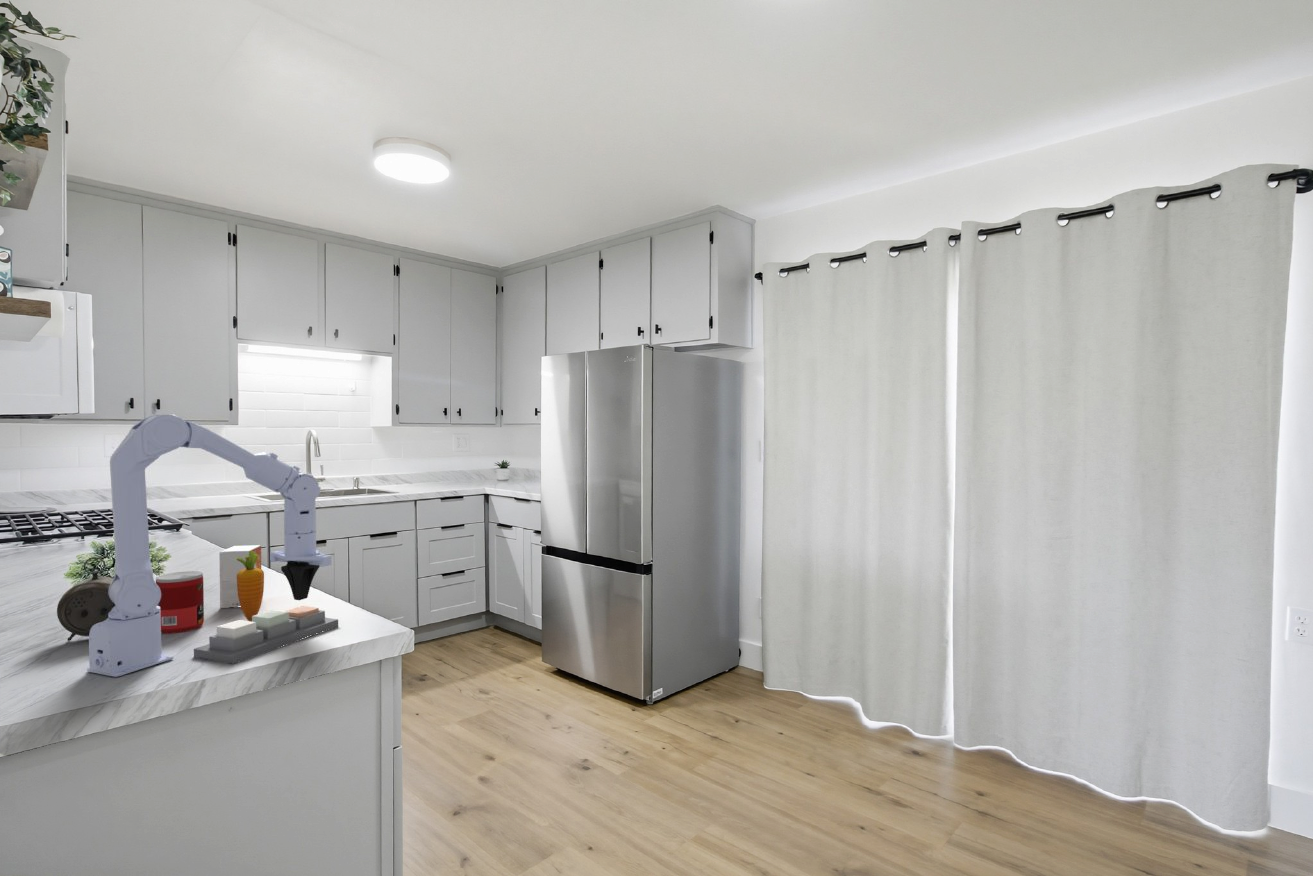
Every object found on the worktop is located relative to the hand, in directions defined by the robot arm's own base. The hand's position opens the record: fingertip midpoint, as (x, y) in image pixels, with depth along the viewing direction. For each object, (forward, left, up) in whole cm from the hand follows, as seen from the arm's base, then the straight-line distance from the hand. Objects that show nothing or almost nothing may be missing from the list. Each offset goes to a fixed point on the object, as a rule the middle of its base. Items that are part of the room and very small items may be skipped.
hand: (300, 598), depth 136 cm
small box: (+11, +31, -7) cm, 33 cm away
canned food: (-7, +25, -7) cm, 27 cm away
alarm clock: (-18, +33, -7) cm, 38 cm away
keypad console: (-7, 0, -6) cm, 9 cm away
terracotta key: (0, 0, -4) cm, 4 cm away
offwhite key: (-14, 0, -3) cm, 14 cm away
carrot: (+1, +15, -7) cm, 16 cm away
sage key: (-7, 0, -3) cm, 8 cm away
